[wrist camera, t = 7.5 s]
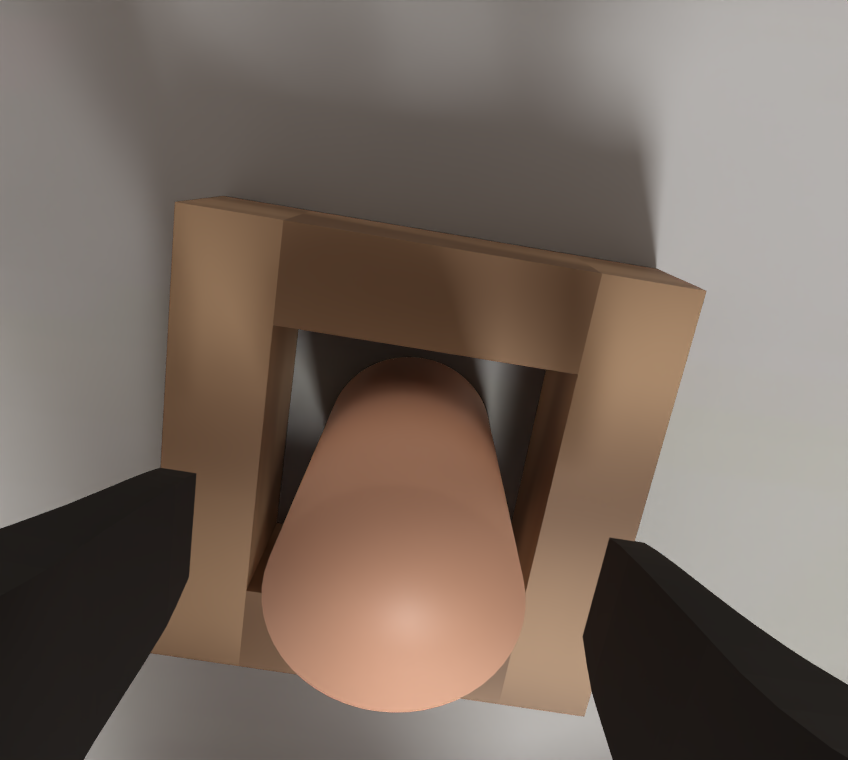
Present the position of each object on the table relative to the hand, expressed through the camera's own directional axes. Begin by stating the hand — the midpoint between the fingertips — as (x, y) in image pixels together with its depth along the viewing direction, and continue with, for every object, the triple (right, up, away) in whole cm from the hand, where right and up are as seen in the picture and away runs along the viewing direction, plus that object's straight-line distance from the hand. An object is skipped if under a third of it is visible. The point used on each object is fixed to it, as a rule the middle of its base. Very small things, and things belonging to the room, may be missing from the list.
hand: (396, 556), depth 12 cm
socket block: (0, +2, +5) cm, 6 cm away
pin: (0, +2, +5) cm, 6 cm away
